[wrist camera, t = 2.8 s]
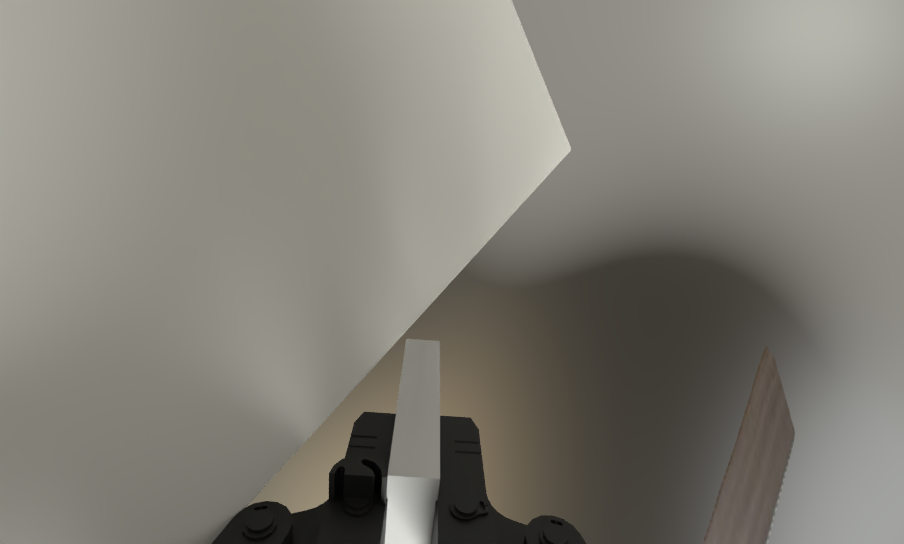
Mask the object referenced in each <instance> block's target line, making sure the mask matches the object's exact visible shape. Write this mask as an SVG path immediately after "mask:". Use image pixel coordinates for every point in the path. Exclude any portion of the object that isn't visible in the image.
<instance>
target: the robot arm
mask: <svg viewBox="0 0 904 544" xmlns="http://www.w3.org/2000/svg"><path fill="white" fill-rule="evenodd" d="M212 544H586V543H585V541H584V539H583V538H582V536H581V535H580V533H579V532H578V531H577V530H576V529H575V527H574V526H573V525H571V524H570V523H568V522H567V521H565V520H564V519H561V518H558V517H555V516H539V517H537V518H534V519H533V520H532V521H531V522H530V523H529V524H528V525H525V524H522V523H519V522H516V521H513V520H511V519H508V518H506V517H504V516H503V515H501V514H500V513H498V512H497V511H496V510H495V509H494V508H493V507H492V506H491V504H490V501H489V500H488V498H487V494H486V487H485V479H484V471H483V462H482V455H481V446H480V437H479V429H478V428H477V426H476V425H475V423H474V422H473V421H472V419H471V418H465V417H451V416H440V342H439V341H427V340H415V339H406V346H405V353H404V360H403V367H402V374H401V382H400V389H399V396H398V403H397V410H396V414H389V413H374V412H364V413H363V414H362V415H361V416H360V417H359V418H358V419H357V420H356V422H354V426H353V430H352V433H351V437H350V441H349V445H348V448H347V452H346V456H345V458H344V459H342V460H340V461H339V462H338V463H336V464H335V465H334V466H333V468H332V469H331V471H330V473H329V499H328V500H327V501H326V502H325V503H324V504H321V505H320V506H318V507H316V508H313V509H310V510H307V511H302V512H297V513H293V514H291V513H290V511H289V510H288V509H287V507H286V506H284V505H282V504H280V503H278V502H270V501H265V502H260V503H254V504H252V505H250V506H248V507H246V508H244V509H242V510H241V511H240V512H239V513H238V514H237V515H235V516H234V517H233V518H232V520H231V521H230V522H229V523H228V524H227V526H226V527H225V528H224V529H223V530H222V532H221V533H220V534H219V535H218V536H217V538H216V539H215V540H214V541H213V542H212Z"/></svg>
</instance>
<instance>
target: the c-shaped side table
mask: <svg viewBox="0 0 904 544" xmlns="http://www.w3.org/2000/svg"><path fill="white" fill-rule="evenodd" d="M570 150H571V147H570V145H569V142H568V140H567V137H566V135H565V132H564V130H563V127H562V125H561V123H560V120H559V118H558V115H557V113H556V110H555V108H554V105H553V102H552V100H551V98H550V95H549V93H548V90H547V88H546V85H545V83H544V80H543V78H542V75H541V73H540V70H539V68H538V65H537V63H536V60H535V58H534V55H533V53H532V50H531V48H530V45H529V43H528V40H527V38H526V35H525V33H524V30H523V28H522V25H521V23H520V20H519V18H518V15H517V13H516V10H515V8H514V5H513V3H512V0H0V543H2V544H212V542H213V541H214V540H215V539H216V538H217V536H218V535H219V534H220V533H221V532H222V530H223V529H224V528H225V527H226V526H227V524H228V523H229V522H230V521H231V520H232V518H233V517H234V516H235V515H237V514H238V513H239V512H240V511H241V510H242V509H244V508H246V506H247V505H248V504H249V503H250V502H251V501H252V500H253V499H254V498H255V497H256V495H257V494H258V493H259V492H260V491H261V490H262V489H263V488H264V487H265V485H266V484H267V483H268V482H269V481H270V480H271V479H272V478H273V477H274V476H275V474H276V473H277V472H278V471H279V470H280V469H281V468H282V467H283V466H284V465H285V463H286V462H287V461H288V460H289V459H290V458H291V457H292V456H293V455H294V454H295V453H296V451H297V450H298V449H299V448H300V447H301V446H302V445H303V444H304V443H305V442H306V440H307V439H308V438H309V437H310V436H311V435H312V434H313V433H314V432H315V430H316V429H317V428H318V427H319V426H320V425H321V424H322V423H323V422H324V421H325V420H326V418H327V417H328V416H329V415H330V414H331V413H332V412H333V411H334V410H335V409H336V408H337V406H338V405H339V404H340V403H341V402H342V401H343V400H344V399H345V398H346V396H347V395H348V394H349V393H350V392H351V391H352V390H353V389H354V388H355V387H356V386H357V384H358V383H359V382H360V381H361V380H362V379H363V378H364V377H365V376H366V375H367V374H368V372H369V371H370V370H371V369H372V368H373V367H374V366H375V365H376V363H378V361H379V360H380V359H381V358H382V357H383V356H384V355H385V354H386V353H387V351H388V350H389V349H390V348H391V347H392V346H393V345H394V344H395V343H396V342H397V341H398V339H399V338H400V337H401V336H402V335H403V334H404V333H405V332H406V331H407V329H408V328H409V327H410V326H411V325H412V324H413V323H414V322H415V321H416V319H417V318H418V317H419V316H420V315H421V314H422V313H423V312H424V311H425V310H426V309H427V308H428V306H429V305H430V304H431V303H432V302H433V301H434V300H435V299H436V298H437V297H438V295H439V294H440V293H441V292H442V291H443V290H444V289H445V288H446V287H447V286H448V285H449V283H450V282H451V281H452V280H453V279H454V278H455V277H456V276H457V275H458V274H459V272H460V271H461V270H462V269H463V268H464V267H465V266H466V265H467V264H468V263H469V261H470V260H471V259H472V258H473V257H474V256H475V255H476V254H477V253H478V251H479V250H480V249H481V248H482V247H483V246H484V245H485V244H486V243H487V242H488V240H489V239H490V238H491V237H492V236H493V235H494V234H495V233H496V232H497V231H498V229H500V227H501V226H502V225H503V224H504V223H505V222H506V221H507V220H508V219H509V217H510V216H511V215H512V214H513V213H514V212H515V211H516V210H517V209H518V207H520V205H521V204H522V203H523V202H524V201H525V200H526V199H527V198H528V197H529V196H530V194H531V193H532V192H533V191H534V190H535V189H536V188H537V187H538V186H539V185H540V183H541V182H542V181H543V180H544V179H545V178H546V177H547V176H548V175H549V174H550V172H551V171H552V170H553V169H554V168H555V167H556V166H557V165H558V164H559V162H560V161H561V160H562V159H563V158H564V157H565V156H566V155H567V154H568V153H569V151H570Z"/></svg>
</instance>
